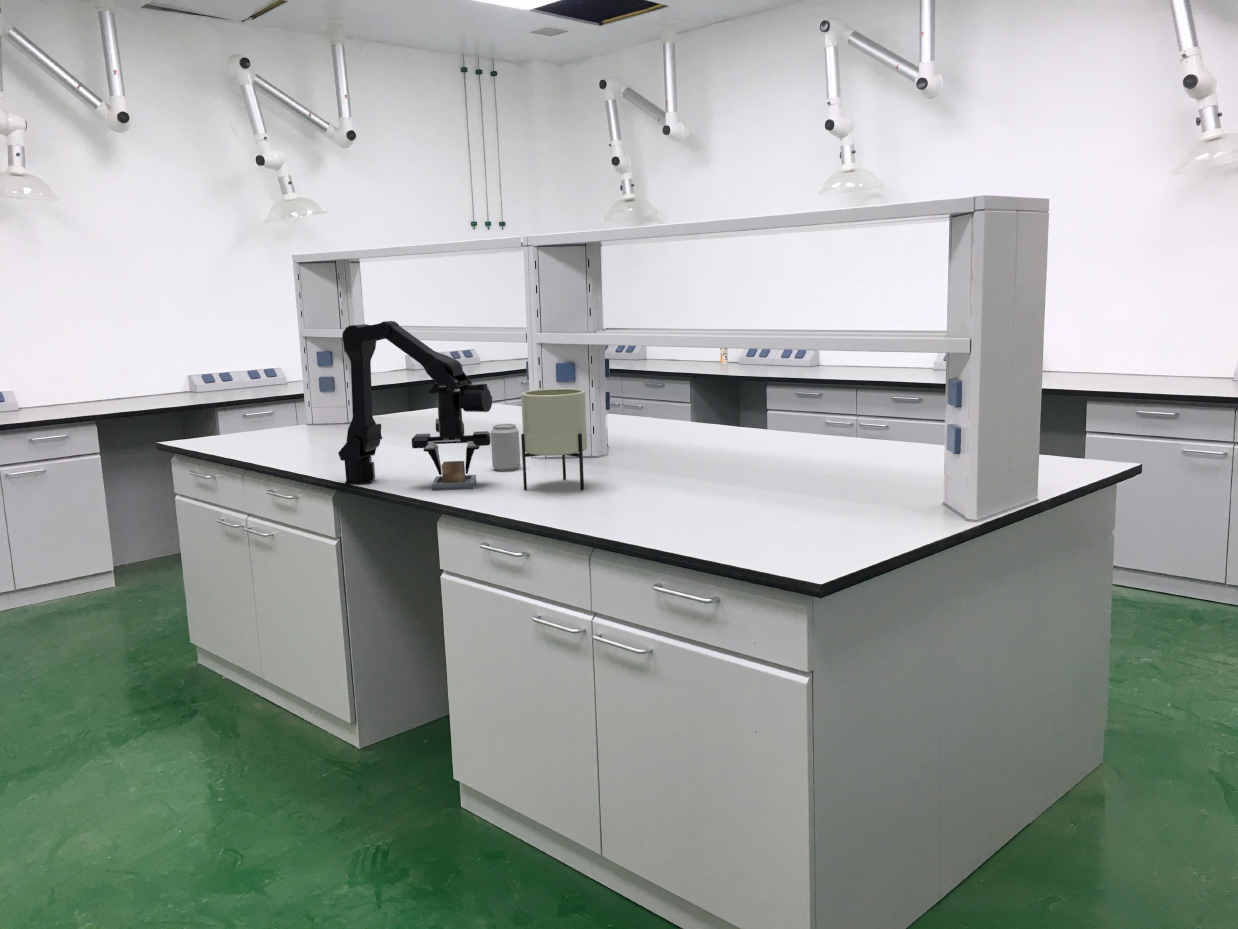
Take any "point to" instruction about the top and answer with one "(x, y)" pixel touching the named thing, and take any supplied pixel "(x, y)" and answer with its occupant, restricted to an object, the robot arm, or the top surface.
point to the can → (505, 447)
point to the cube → (453, 471)
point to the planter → (554, 425)
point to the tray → (468, 483)
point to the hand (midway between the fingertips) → (453, 474)
